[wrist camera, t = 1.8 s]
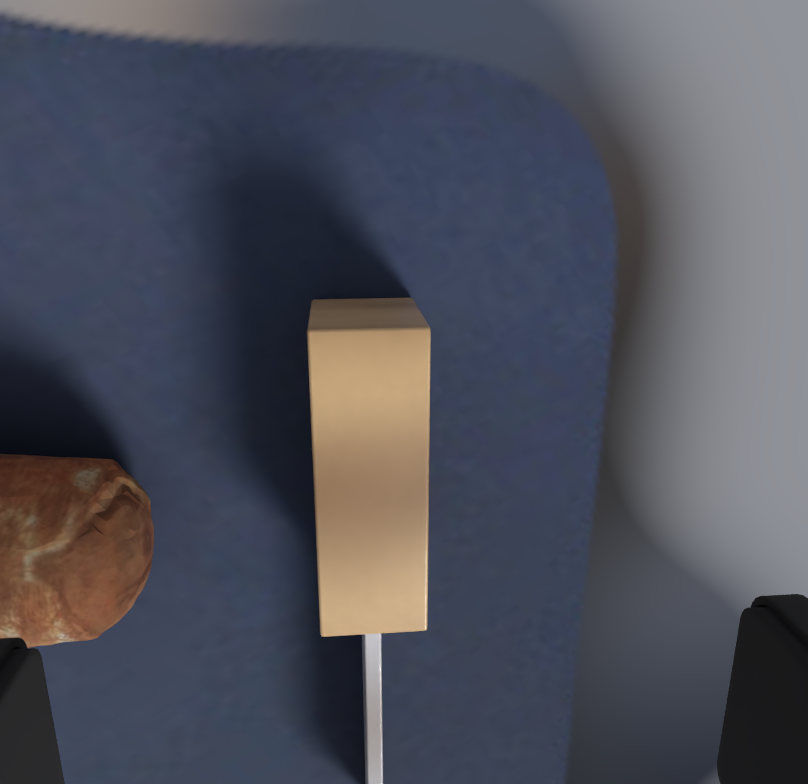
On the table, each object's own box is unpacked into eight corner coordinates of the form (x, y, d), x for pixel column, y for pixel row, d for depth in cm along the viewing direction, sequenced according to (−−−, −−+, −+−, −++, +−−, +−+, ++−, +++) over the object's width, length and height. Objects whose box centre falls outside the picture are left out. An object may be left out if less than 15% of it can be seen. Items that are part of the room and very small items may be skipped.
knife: (411, 789, 22) (424, 892, 19) (331, 795, 21) (332, 900, 18) (413, 297, 17) (431, 327, 14) (311, 298, 17) (306, 330, 14)
